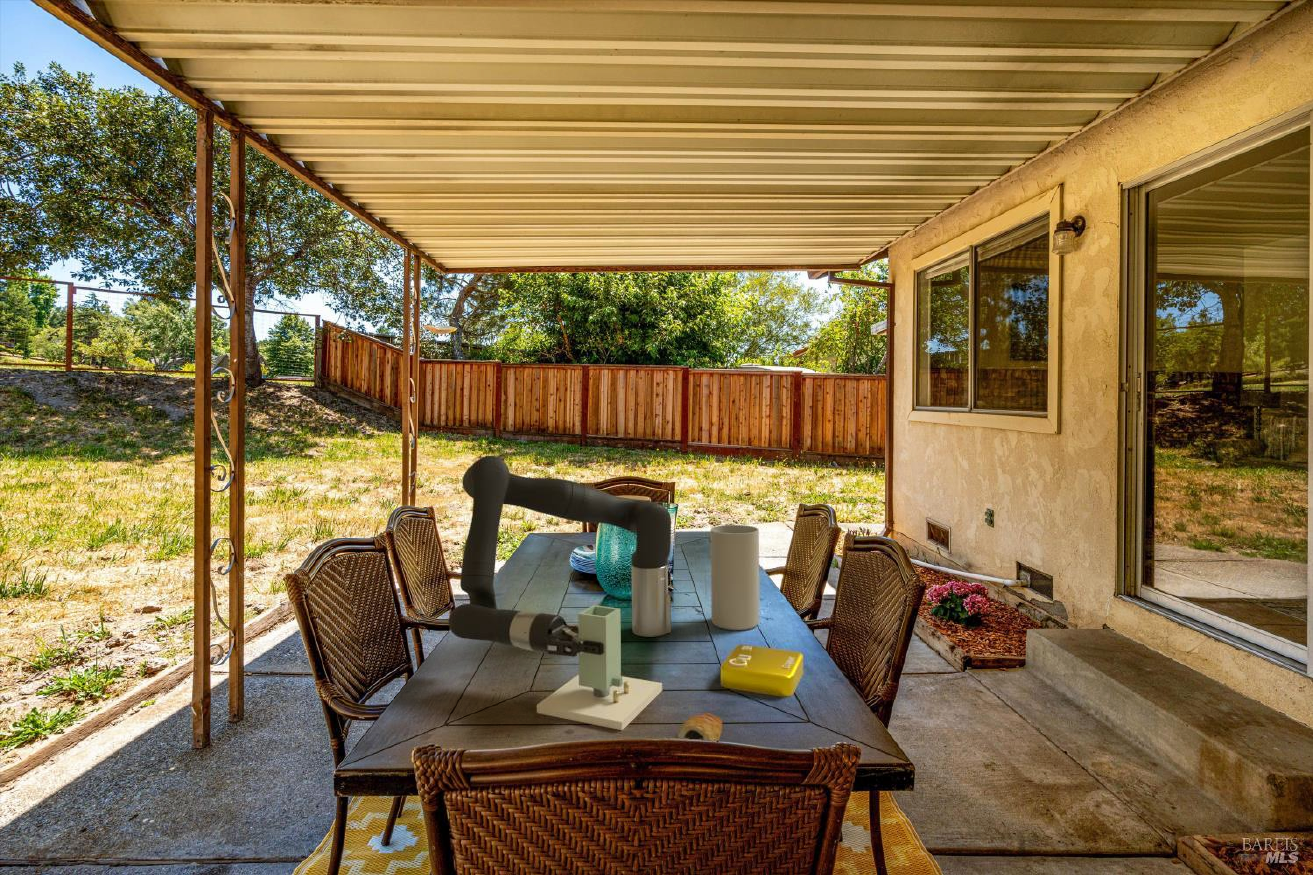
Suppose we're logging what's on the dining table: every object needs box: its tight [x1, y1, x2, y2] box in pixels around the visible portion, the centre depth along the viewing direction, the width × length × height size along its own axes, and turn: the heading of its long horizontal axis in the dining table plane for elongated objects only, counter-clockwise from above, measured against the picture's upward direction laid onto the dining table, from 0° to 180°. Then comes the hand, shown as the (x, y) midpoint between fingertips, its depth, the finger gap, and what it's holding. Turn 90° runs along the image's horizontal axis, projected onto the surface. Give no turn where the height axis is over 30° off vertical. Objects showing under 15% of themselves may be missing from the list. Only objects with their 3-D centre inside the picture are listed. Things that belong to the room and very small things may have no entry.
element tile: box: [720, 644, 804, 697], centre depth 141 cm, size 15×15×5 cm
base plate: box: [536, 673, 663, 731], centre depth 131 cm, size 18×18×9 cm
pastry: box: [677, 712, 723, 741], centre depth 117 cm, size 9×7×4 cm
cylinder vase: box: [710, 524, 760, 631], centre depth 176 cm, size 12×12×25 cm
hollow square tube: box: [577, 604, 624, 691], centre depth 130 cm, size 8×6×14 cm
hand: (610, 643), depth 129 cm, fingers closed on hollow square tube, 6 cm apart
